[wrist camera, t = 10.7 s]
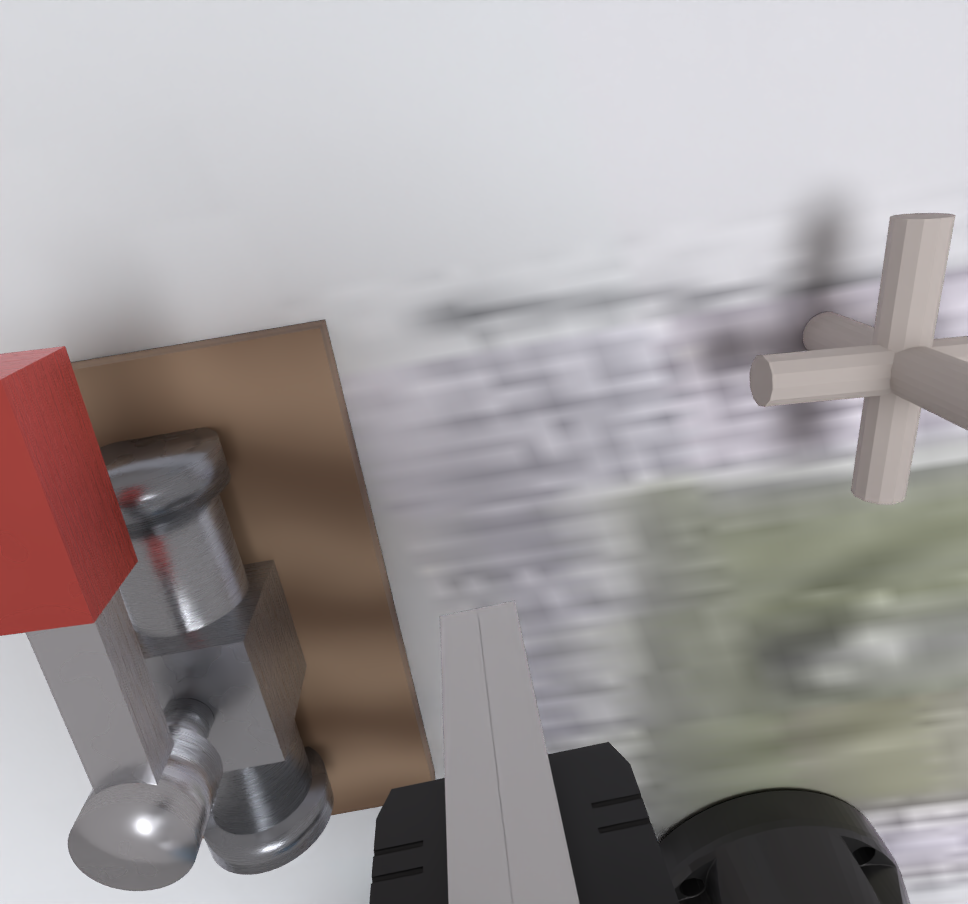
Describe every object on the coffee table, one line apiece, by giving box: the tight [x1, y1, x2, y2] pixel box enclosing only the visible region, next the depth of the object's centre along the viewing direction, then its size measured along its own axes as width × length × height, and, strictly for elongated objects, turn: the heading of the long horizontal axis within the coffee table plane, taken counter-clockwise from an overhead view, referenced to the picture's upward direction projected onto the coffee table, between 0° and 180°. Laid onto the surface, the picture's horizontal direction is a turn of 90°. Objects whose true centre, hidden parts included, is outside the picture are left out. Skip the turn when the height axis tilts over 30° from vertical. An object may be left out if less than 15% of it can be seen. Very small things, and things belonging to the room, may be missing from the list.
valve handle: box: [0, 346, 223, 891], centre depth 20 cm, size 4×16×3 cm, turn 6°
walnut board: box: [71, 320, 435, 838], centre depth 31 cm, size 24×14×2 cm, turn 9°
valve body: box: [100, 427, 334, 874], centre depth 28 cm, size 18×6×8 cm, turn 9°
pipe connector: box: [750, 213, 968, 504], centre depth 25 cm, size 10×10×10 cm
